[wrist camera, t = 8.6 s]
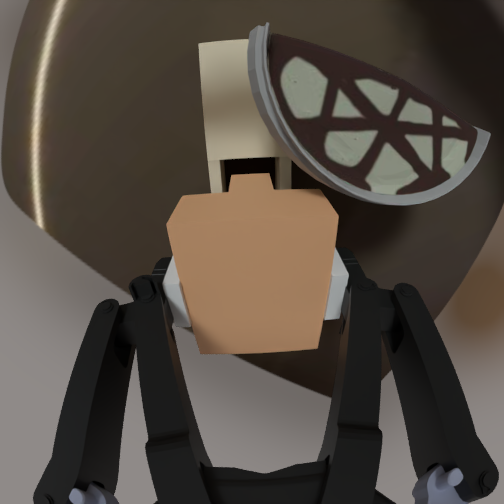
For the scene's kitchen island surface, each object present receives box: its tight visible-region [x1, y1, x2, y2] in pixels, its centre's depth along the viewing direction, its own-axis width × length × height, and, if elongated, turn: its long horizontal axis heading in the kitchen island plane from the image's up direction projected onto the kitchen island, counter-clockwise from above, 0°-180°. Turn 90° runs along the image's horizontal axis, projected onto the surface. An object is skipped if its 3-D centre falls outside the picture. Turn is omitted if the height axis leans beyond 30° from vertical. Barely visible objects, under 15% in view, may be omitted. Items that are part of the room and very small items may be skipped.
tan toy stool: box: [166, 173, 339, 354], centre depth 15 cm, size 8×6×6 cm
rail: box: [199, 39, 291, 193], centre depth 19 cm, size 24×5×3 cm, turn 3°
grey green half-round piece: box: [247, 23, 491, 205], centre depth 13 cm, size 12×6×10 cm, turn 78°
